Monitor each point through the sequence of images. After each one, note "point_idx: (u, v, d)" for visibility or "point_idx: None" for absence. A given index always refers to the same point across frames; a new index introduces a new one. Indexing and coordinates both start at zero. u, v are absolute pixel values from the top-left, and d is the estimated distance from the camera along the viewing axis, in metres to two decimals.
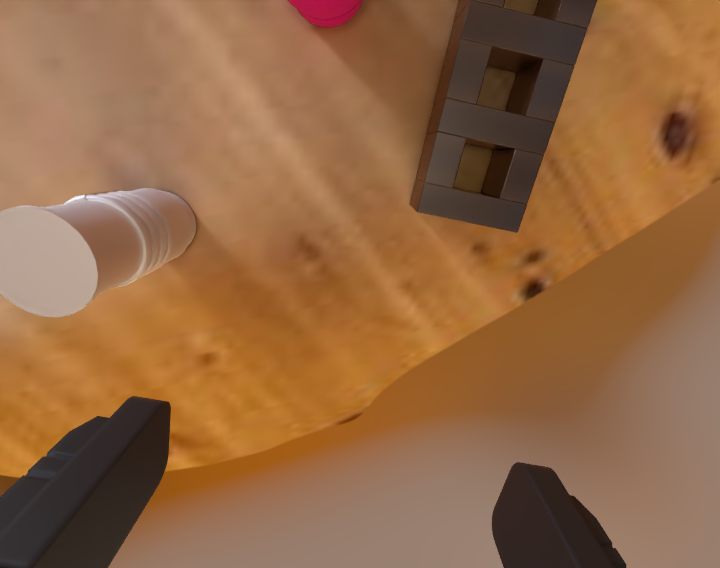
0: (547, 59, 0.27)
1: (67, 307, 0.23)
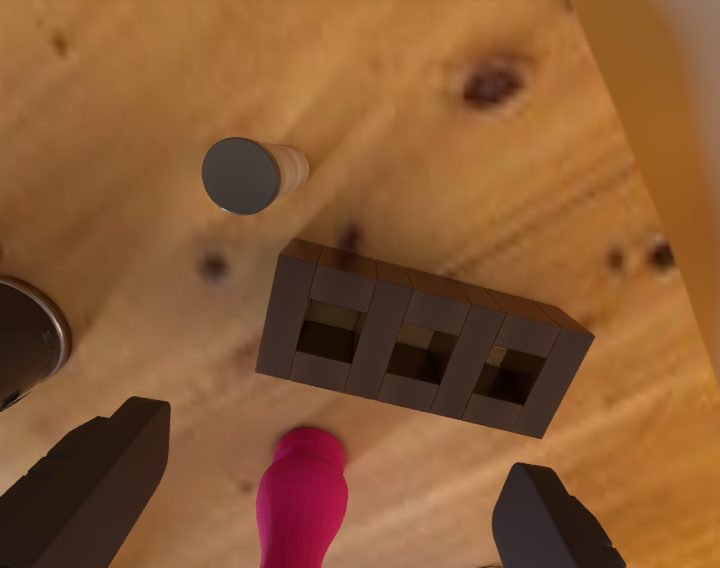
0: (404, 318, 0.25)
1: None
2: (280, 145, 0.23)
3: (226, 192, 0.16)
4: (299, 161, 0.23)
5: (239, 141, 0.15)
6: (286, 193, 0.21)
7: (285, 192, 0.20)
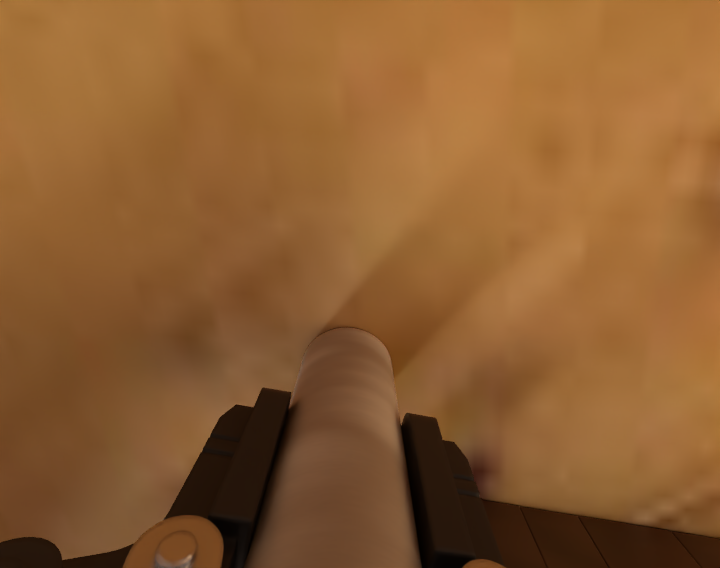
0: None
1: None
2: (350, 390, 0.09)
3: None
4: (397, 419, 0.09)
5: None
6: None
7: None
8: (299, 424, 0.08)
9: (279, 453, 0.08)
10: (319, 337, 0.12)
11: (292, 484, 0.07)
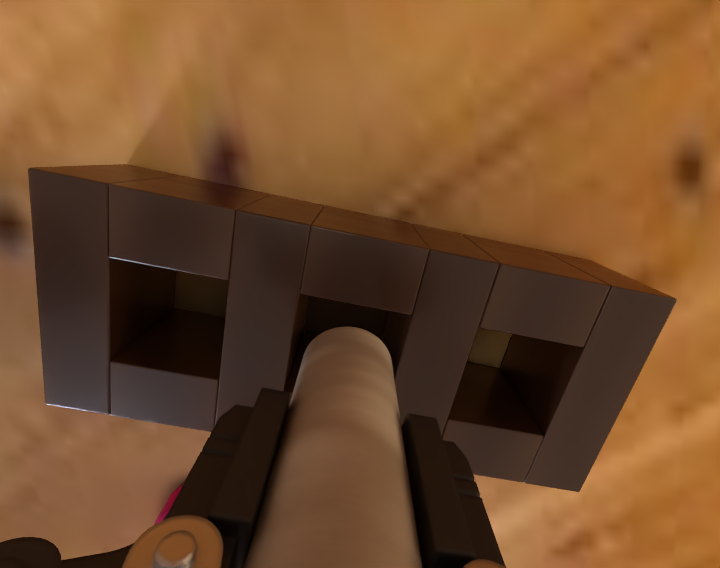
0: (301, 286, 0.13)
1: None
2: (350, 389, 0.09)
3: None
4: (397, 418, 0.09)
5: None
6: None
7: None
8: (299, 423, 0.08)
9: (279, 451, 0.08)
10: (319, 336, 0.12)
11: (292, 483, 0.07)
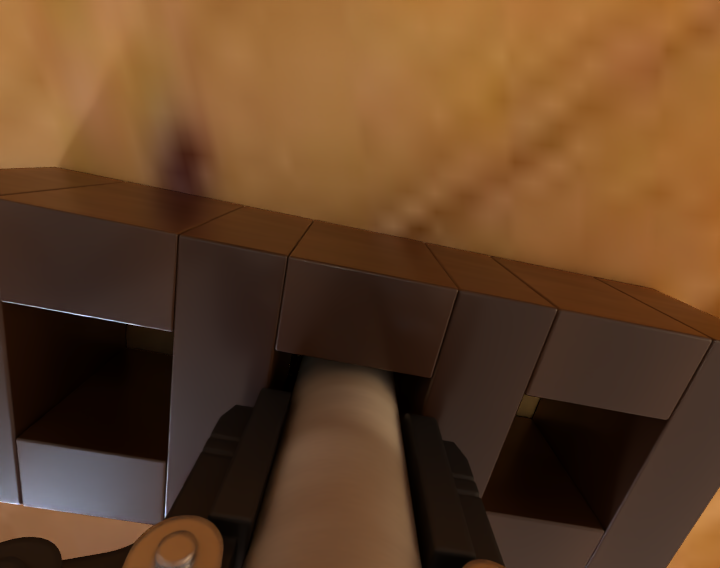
0: (276, 340, 0.09)
1: None
2: (349, 389, 0.09)
3: None
4: (397, 418, 0.09)
5: None
6: None
7: None
8: (298, 423, 0.08)
9: (279, 451, 0.08)
10: None
11: (291, 482, 0.07)
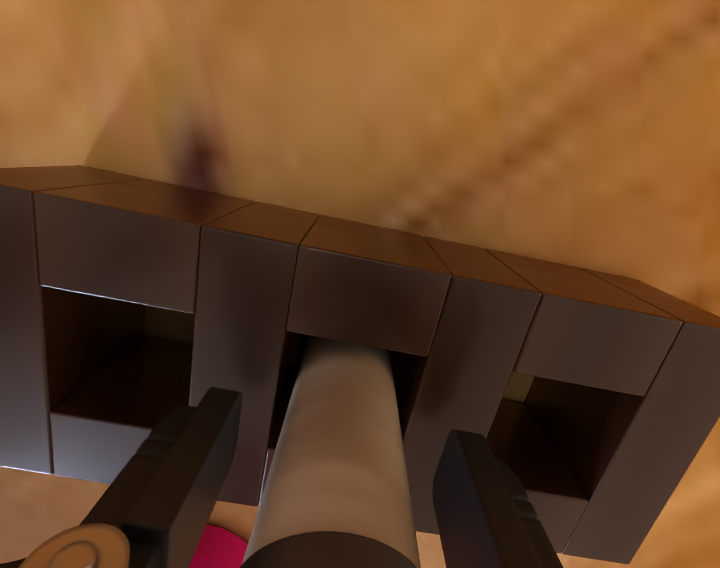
0: (287, 322, 0.10)
1: None
2: None
3: None
4: (388, 357, 0.12)
5: None
6: None
7: None
8: (314, 354, 0.11)
9: (300, 374, 0.11)
10: None
11: (312, 385, 0.09)
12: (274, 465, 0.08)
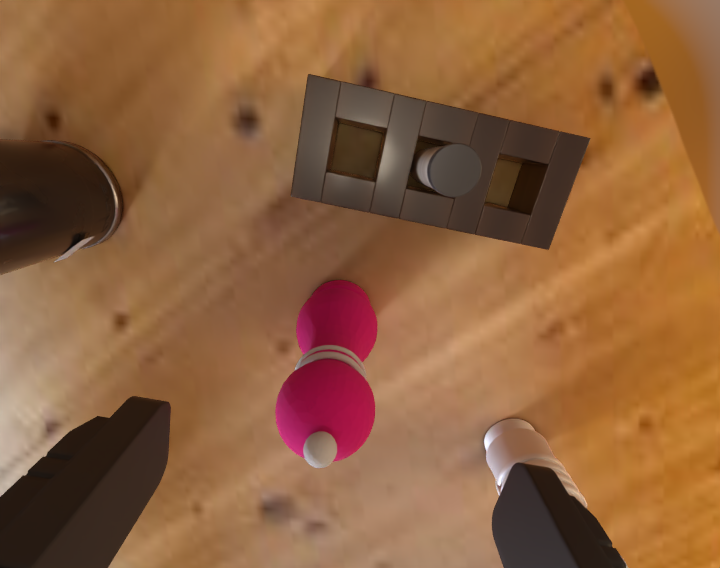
0: (419, 131, 0.28)
1: None
2: None
3: (445, 181, 0.23)
4: None
5: (458, 145, 0.23)
6: None
7: None
8: (425, 151, 0.29)
9: (421, 156, 0.29)
10: (417, 151, 0.33)
11: (430, 149, 0.27)
12: (428, 156, 0.26)
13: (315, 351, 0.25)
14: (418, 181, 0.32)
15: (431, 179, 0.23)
